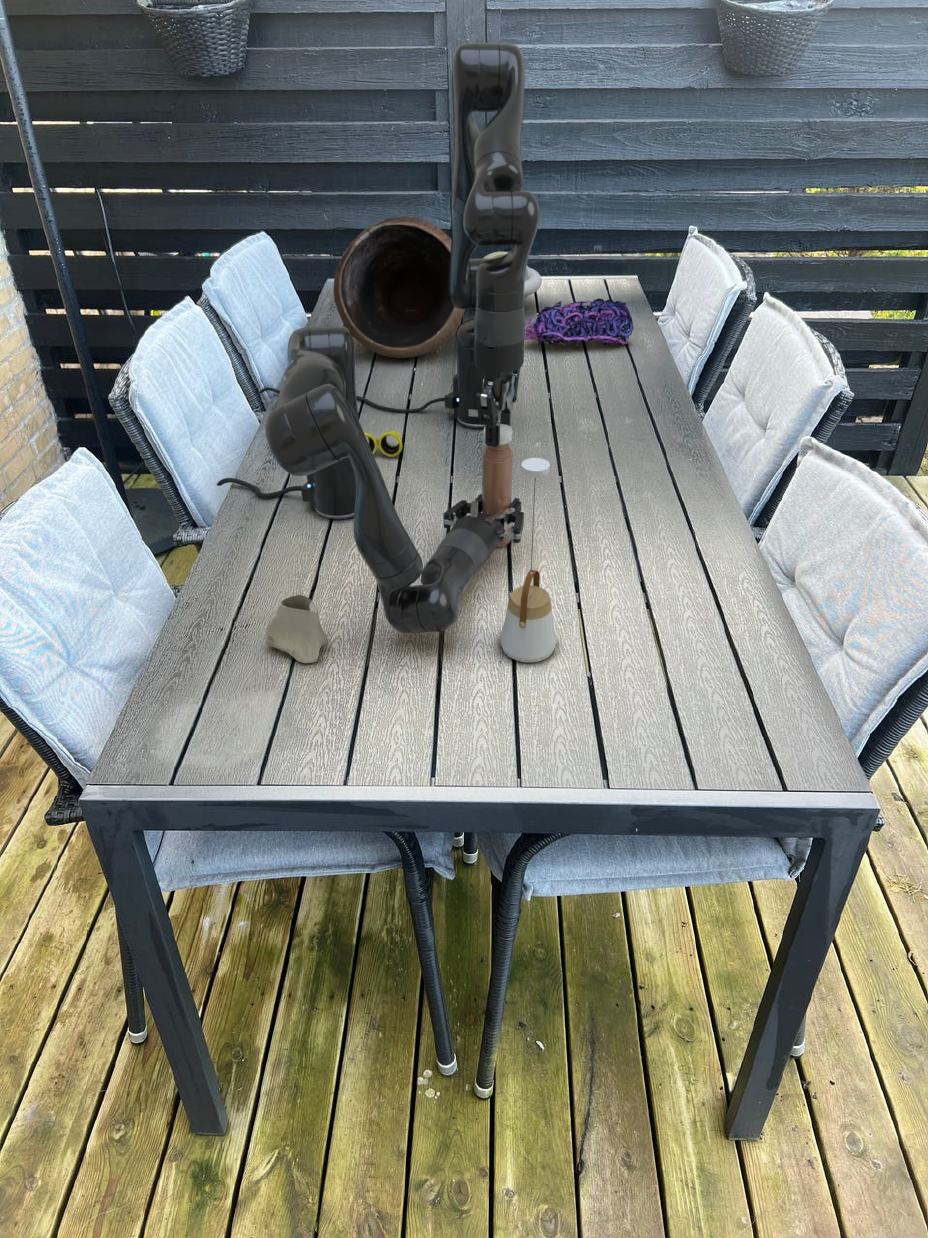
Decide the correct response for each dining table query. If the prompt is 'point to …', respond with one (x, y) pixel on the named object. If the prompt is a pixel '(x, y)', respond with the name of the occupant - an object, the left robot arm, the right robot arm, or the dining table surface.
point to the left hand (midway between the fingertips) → (501, 499)
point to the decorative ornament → (582, 323)
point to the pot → (397, 288)
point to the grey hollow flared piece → (297, 629)
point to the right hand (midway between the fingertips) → (497, 438)
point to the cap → (503, 434)
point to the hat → (531, 276)
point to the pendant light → (529, 603)
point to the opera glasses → (385, 444)
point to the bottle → (497, 481)
